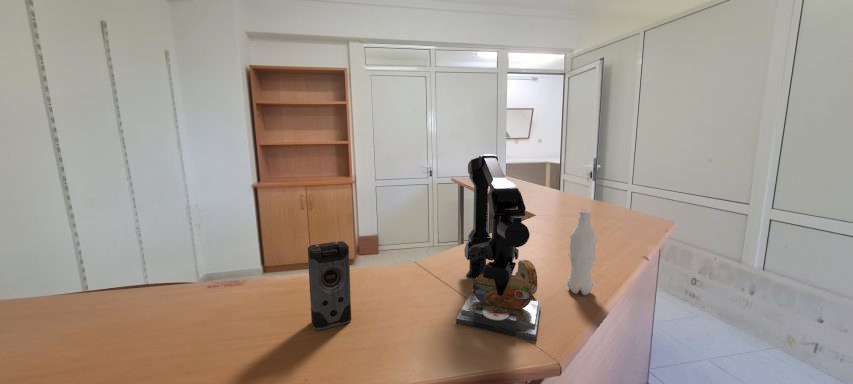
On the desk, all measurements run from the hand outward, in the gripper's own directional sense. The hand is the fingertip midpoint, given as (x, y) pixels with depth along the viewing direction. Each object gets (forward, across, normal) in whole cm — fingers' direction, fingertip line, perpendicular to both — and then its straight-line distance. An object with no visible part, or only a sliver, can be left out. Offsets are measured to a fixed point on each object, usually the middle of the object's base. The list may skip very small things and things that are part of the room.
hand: (501, 292), depth 87 cm
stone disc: (+6, -16, +5) cm, 18 cm away
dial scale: (+6, +1, 0) cm, 6 cm away
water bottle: (+6, -23, +20) cm, 31 cm away
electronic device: (+6, +20, -39) cm, 44 cm away
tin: (+4, 0, 0) cm, 4 cm away
